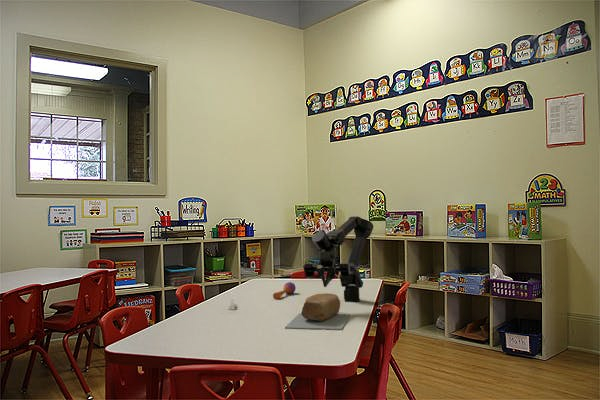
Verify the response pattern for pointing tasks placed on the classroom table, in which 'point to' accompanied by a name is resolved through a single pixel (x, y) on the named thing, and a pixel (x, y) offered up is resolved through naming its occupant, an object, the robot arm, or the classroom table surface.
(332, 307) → the block
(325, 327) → the mat
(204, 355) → the classroom table surface
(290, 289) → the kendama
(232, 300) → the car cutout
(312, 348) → the classroom table surface
